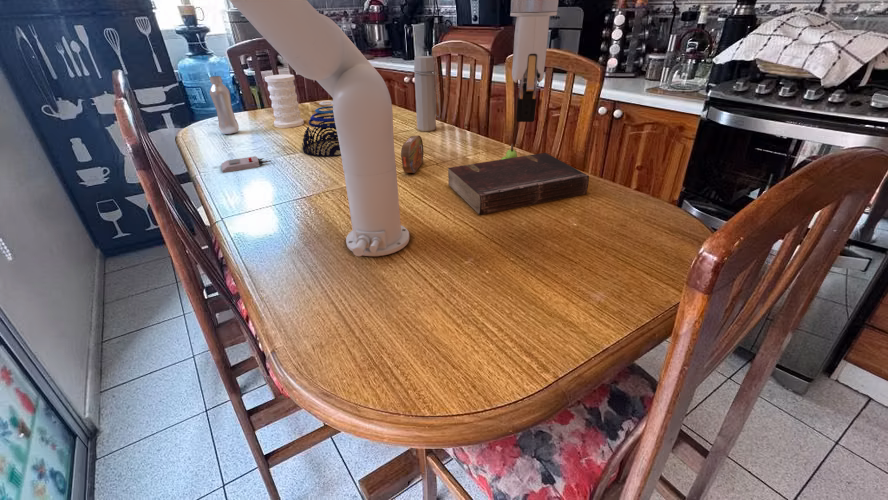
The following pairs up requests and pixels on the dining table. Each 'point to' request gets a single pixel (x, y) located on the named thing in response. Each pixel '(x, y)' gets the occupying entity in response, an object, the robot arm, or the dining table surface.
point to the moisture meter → (242, 164)
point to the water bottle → (425, 93)
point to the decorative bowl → (322, 126)
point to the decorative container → (284, 100)
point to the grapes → (510, 153)
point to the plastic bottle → (223, 106)
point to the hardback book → (516, 182)
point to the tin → (412, 154)
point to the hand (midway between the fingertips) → (525, 120)
